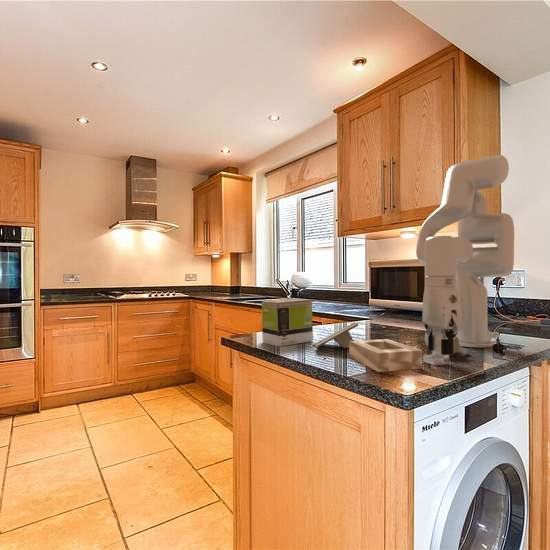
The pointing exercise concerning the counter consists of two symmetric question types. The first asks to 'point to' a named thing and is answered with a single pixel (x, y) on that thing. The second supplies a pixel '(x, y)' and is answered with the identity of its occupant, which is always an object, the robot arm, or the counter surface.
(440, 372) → the counter surface
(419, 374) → the counter surface
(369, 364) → the well block
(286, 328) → the tea box
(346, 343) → the beige double panel block
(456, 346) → the ceramic mug
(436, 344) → the wood grain block
